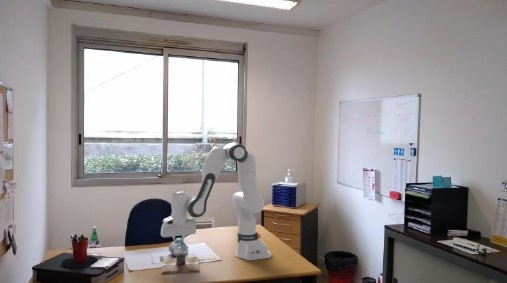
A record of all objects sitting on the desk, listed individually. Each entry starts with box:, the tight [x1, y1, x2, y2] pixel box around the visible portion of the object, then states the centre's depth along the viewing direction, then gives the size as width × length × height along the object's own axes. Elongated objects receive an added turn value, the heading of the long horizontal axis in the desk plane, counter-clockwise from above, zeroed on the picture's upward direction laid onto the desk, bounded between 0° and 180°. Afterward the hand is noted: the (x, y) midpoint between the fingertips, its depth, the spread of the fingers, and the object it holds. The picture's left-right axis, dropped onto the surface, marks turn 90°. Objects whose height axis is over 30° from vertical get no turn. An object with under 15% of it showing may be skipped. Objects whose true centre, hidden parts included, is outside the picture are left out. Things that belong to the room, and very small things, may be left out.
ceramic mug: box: [168, 241, 178, 258], centre depth 228 cm, size 11×8×8 cm
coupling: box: [173, 237, 189, 256], centre depth 209 cm, size 8×15×7 cm, turn 23°
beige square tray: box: [161, 255, 200, 275], centre depth 210 cm, size 20×20×7 cm
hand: (178, 242), depth 215 cm, fingers open, 2 cm apart
